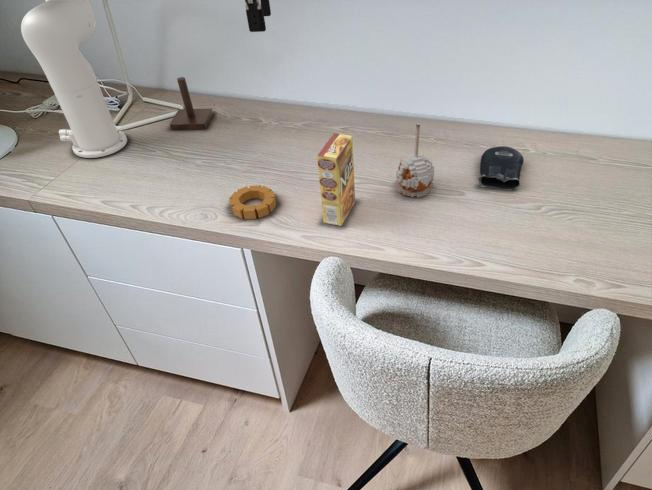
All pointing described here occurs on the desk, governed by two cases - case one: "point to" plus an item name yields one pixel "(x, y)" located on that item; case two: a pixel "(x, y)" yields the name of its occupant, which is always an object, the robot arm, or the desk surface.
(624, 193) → the desk surface
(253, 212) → the ring
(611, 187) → the desk surface
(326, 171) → the candy box
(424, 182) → the caramel apple
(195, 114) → the stand
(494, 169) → the electronic device
